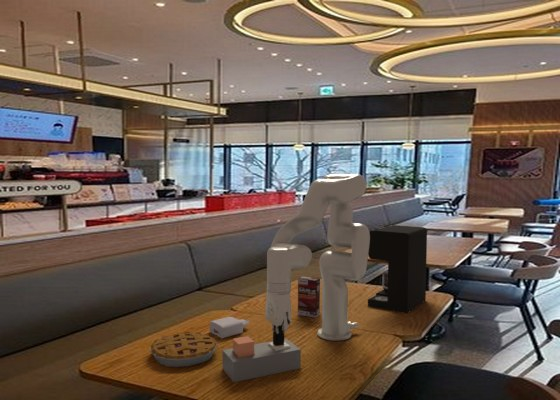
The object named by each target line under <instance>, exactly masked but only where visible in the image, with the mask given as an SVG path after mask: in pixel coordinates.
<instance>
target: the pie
mask: <svg viewBox="0 0 560 400" xmlns="http://www.w3.org/2000/svg"><path fill="white" fill-rule="evenodd" d="M216 349H218V344H217V340H216V338H215V337H212V336H210V334H207V333H206V334H205V333H203V334H202V333H201V332H197V331H196V332H193V333H192V332H190V331H185V332H184V333H172V335H163V336H162V337H161V338H160V339H155V340H154V342H153V343H151V345H150V353H151V354H152V355H153V357H154V359H155V360H156V361H157V362H158V363H159V364H160V365H161V366H162V365H163V366H165V367H172V368H173V367H174V368H180V367H189V366H190V367H191V366H194V365H199V364H202V363H205V362H207V361H209V360H211V358H212V356H213V355H214V352H215V350H216Z"/></svg>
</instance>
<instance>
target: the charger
mask: <svg viewBox="0 0 560 400" xmlns="http://www.w3.org/2000/svg"><path fill="white" fill-rule="evenodd" d="M249 323H251V321H249V320H248V319H247V320H245V319H243V318H242V319H238V318H235V317H233V316H227V317H223V318H219V319H214V320H211V321H210V320H209V332H210V333H211V334H213V335H214V336H216V335H217V336H216V337H219V338H220V339H225V338H228V337H229V338H230V337H232V336H236V335H240V334H242V333H243V332H244V327H247V326H249V325H250V324H249Z"/></svg>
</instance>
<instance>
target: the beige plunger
mask: <svg viewBox="0 0 560 400" xmlns="http://www.w3.org/2000/svg"><path fill="white" fill-rule="evenodd" d="M269 342H270V343H269V347H271V348H272V349H273V350H274V351H278V350H284V349H289V348H290V345H288V344H287V343H286V342H284V345H279V346H275V345H274V344H273V342H271V341H269Z"/></svg>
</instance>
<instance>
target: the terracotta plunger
mask: <svg viewBox="0 0 560 400" xmlns="http://www.w3.org/2000/svg"><path fill="white" fill-rule="evenodd" d="M254 344H255V340H253V339H252V338H251V337H250V336H248V335H246V336H241V337H235V338H232V348H233V353H234V354H235V355H236V356H237V358H241V357H246V356H252V355H254Z"/></svg>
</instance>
